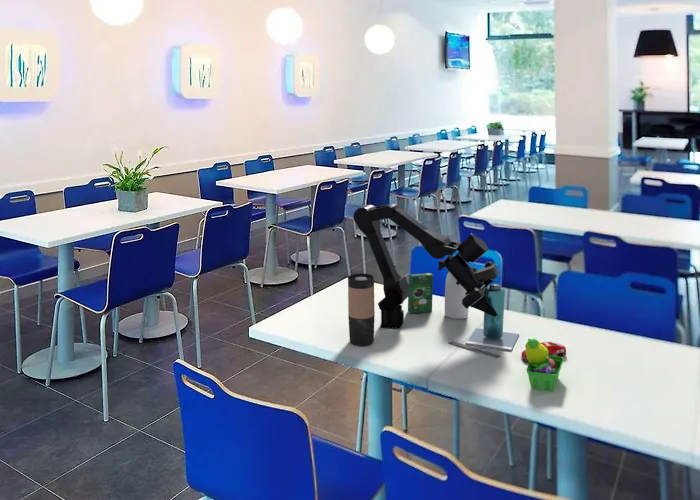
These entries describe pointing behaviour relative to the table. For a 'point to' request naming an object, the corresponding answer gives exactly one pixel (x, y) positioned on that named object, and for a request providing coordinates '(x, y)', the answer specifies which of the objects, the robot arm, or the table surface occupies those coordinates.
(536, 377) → the fruit basket
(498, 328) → the bottle
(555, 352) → the race car
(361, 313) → the travel mug
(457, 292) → the milk bottle
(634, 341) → the table surface
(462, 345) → the line
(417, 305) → the coffee box
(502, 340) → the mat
